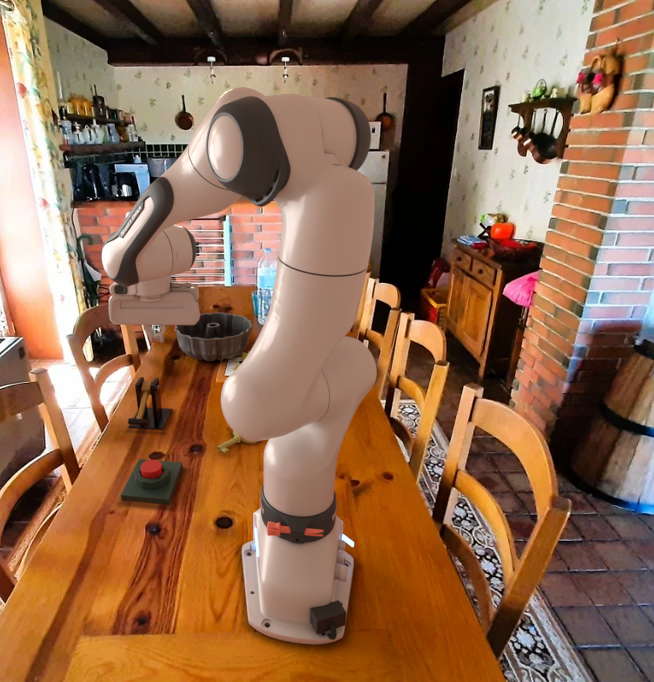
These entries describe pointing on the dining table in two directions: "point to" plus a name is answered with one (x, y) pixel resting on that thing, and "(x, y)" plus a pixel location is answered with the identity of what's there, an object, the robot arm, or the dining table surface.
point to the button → (151, 469)
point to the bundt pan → (215, 336)
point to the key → (232, 442)
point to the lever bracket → (155, 414)
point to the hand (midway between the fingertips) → (157, 341)
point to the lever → (142, 405)
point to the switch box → (152, 484)
